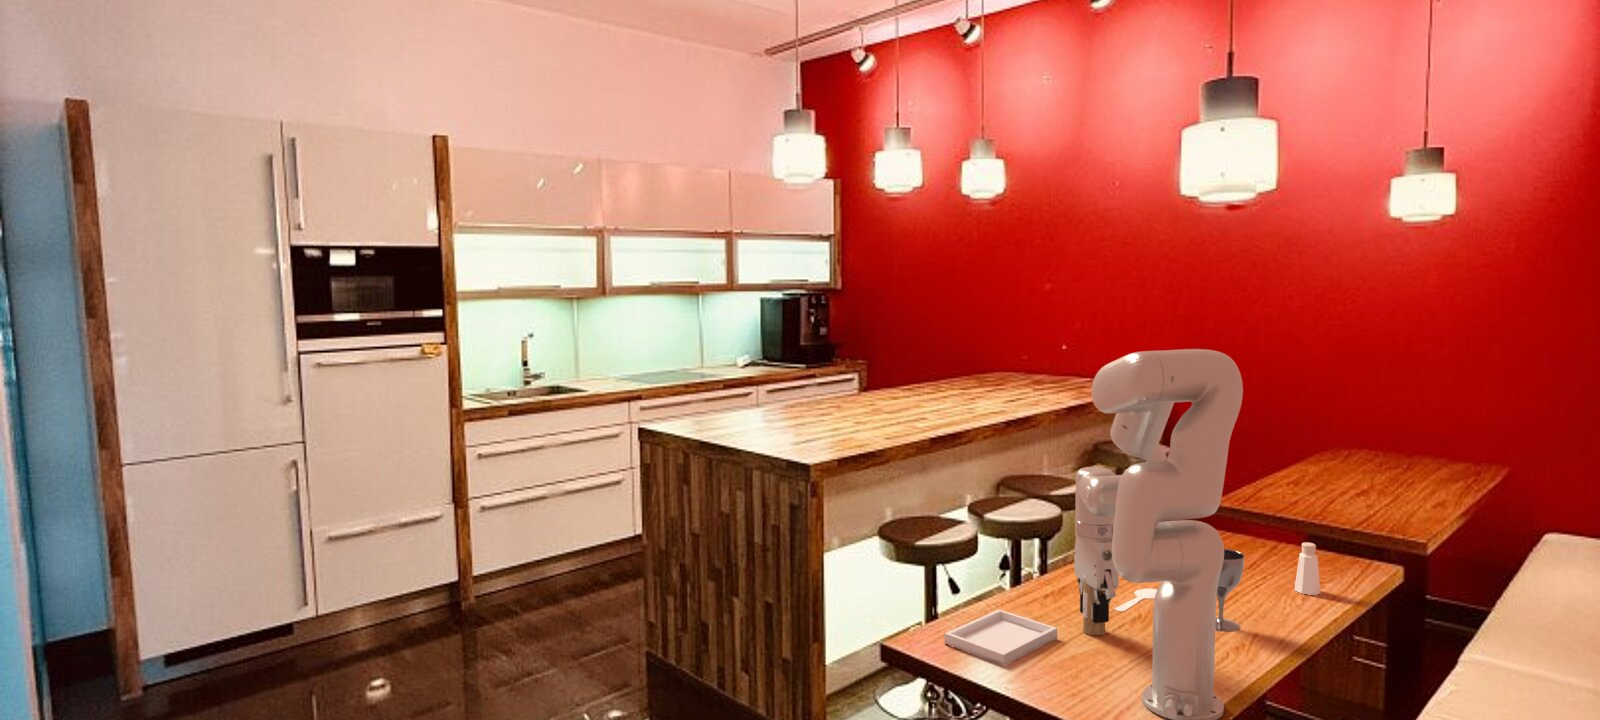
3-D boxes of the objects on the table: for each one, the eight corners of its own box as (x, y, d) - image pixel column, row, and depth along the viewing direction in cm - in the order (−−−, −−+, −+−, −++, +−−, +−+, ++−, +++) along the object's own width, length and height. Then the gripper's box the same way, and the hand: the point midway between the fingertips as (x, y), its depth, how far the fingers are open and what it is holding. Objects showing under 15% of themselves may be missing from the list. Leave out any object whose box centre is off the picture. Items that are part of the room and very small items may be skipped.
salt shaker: (1289, 591, 201) (1290, 543, 199) (1300, 585, 204) (1301, 538, 203) (1314, 597, 196) (1316, 549, 195) (1325, 591, 200) (1327, 544, 198)
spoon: (1105, 609, 193) (1105, 606, 193) (1144, 587, 205) (1144, 585, 205) (1129, 615, 189) (1129, 613, 189) (1167, 593, 202) (1167, 591, 202)
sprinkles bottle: (1102, 638, 177) (1102, 572, 176) (1079, 633, 180) (1079, 568, 179) (1108, 630, 181) (1109, 566, 180) (1085, 625, 184) (1086, 562, 182)
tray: (1003, 666, 166) (1003, 654, 166) (944, 644, 176) (944, 633, 176) (1057, 638, 178) (1057, 627, 177) (999, 619, 188) (999, 609, 188)
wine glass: (1205, 614, 188) (1207, 545, 187) (1246, 623, 183) (1248, 552, 182) (1194, 626, 182) (1196, 555, 181) (1236, 635, 177) (1238, 562, 176)
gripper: (1135, 539, 171) (1134, 631, 173) (1091, 517, 187) (1090, 601, 189) (1099, 542, 170) (1098, 635, 171) (1057, 519, 186) (1057, 604, 188)
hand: (1094, 616), depth 180 cm, fingers closed on sprinkles bottle, 4 cm apart
